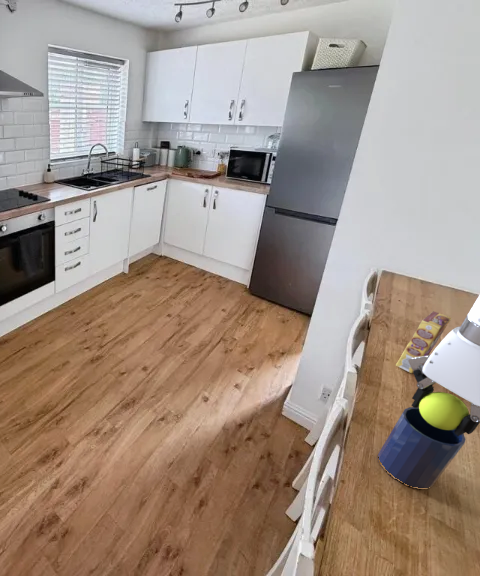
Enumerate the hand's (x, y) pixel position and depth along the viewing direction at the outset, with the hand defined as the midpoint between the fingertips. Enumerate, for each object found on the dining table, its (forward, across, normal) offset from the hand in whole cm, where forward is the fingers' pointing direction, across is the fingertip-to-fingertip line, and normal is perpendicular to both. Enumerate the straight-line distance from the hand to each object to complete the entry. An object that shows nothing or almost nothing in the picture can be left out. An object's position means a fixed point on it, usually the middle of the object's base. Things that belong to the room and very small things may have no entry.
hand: (438, 417), depth 65 cm
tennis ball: (+1, 0, 0) cm, 1 cm away
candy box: (+14, +20, -37) cm, 44 cm away
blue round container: (+14, 0, 0) cm, 14 cm away
